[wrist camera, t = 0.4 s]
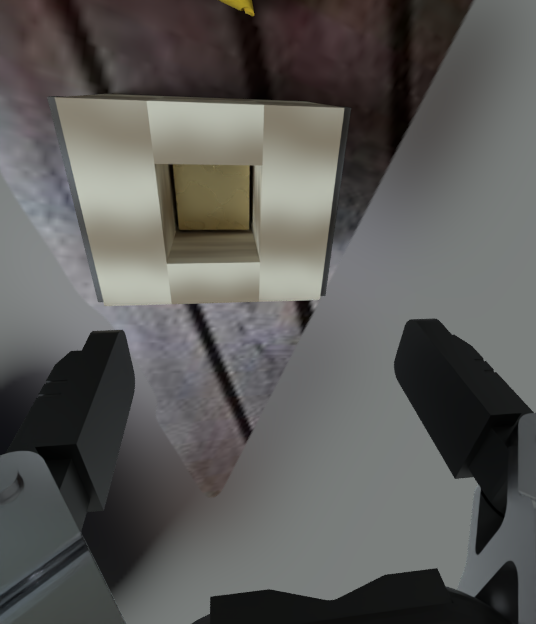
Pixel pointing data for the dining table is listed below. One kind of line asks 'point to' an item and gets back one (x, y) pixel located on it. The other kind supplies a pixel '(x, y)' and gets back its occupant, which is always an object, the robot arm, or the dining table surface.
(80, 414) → the robot arm
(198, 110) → the socket block
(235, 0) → the drill bit
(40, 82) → the dining table surface
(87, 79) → the dining table surface
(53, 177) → the dining table surface
